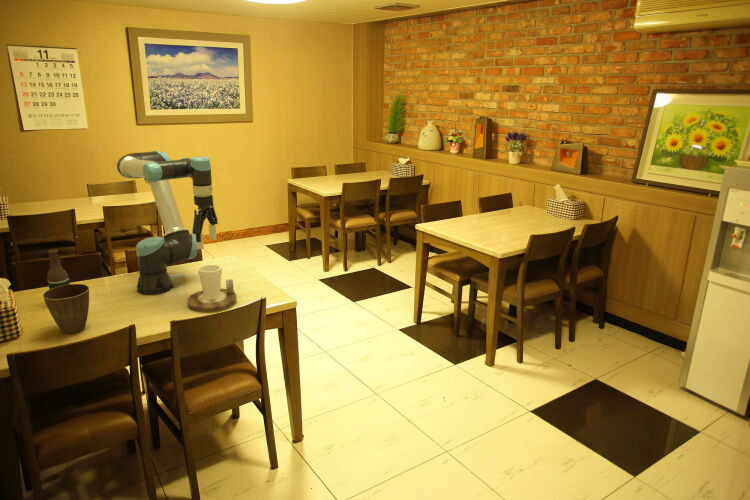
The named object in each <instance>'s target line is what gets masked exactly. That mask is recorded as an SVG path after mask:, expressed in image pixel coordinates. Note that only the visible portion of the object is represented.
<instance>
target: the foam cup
mask: <svg viewBox="0 0 750 500" xmlns="http://www.w3.org/2000/svg"><path fill="white" fill-rule="evenodd" d="M222 269H223V267H222V266H221V265H219V264H205V265H202V266H199V267H198V272H197V273H198V276H199V280H200V284H201V285H200V286H201V288H202V290H203V293H204V297H205V299H208V300H212V299H217V298H219V297H220V289H221V284H222V282H221V281H222V273H223V272H222V271H223V270H222Z"/></svg>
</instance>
